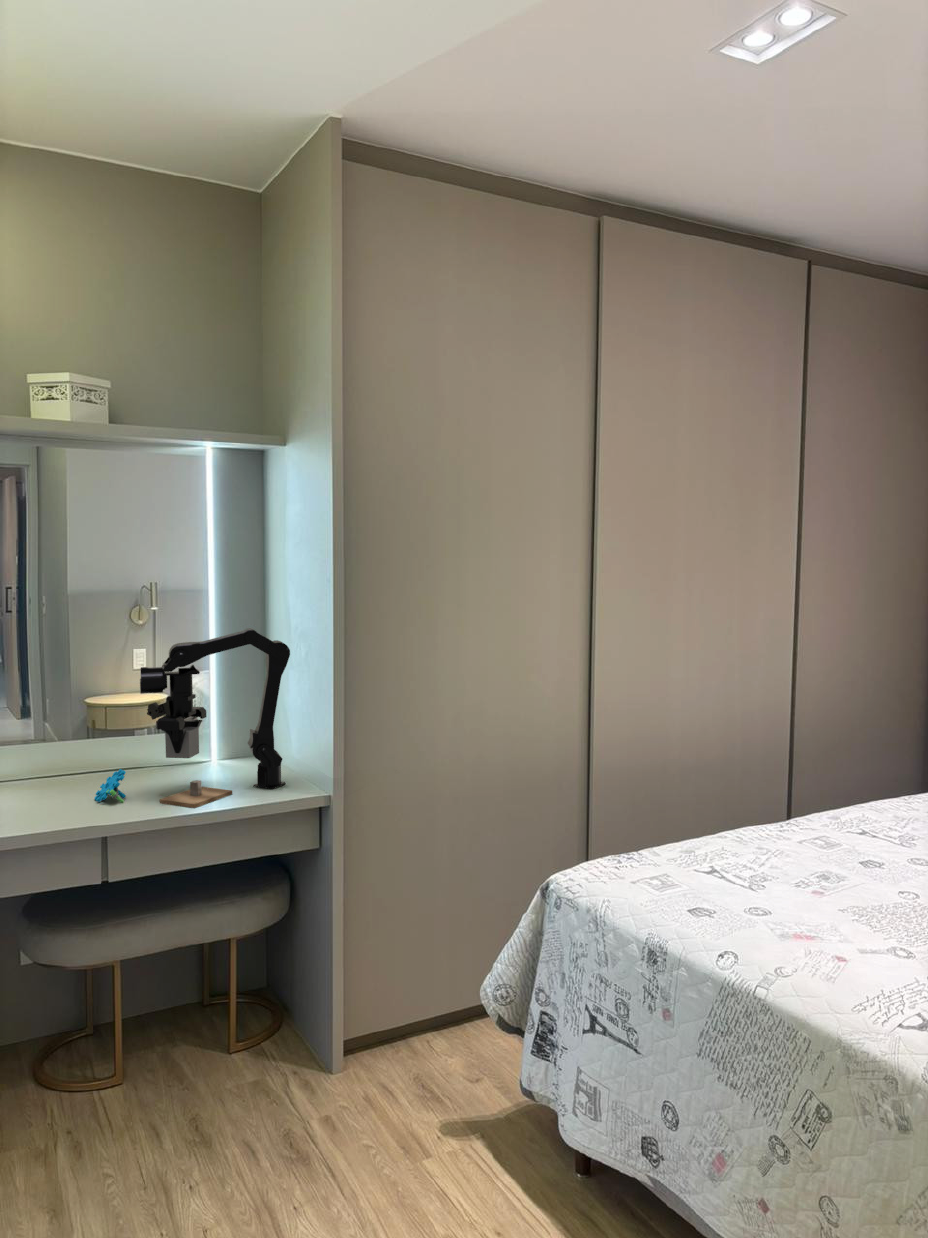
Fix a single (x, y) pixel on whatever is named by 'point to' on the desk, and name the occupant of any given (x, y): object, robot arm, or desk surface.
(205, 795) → the board
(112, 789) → the blue lumpy piece
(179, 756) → the grey cube with hole
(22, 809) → the desk surface
